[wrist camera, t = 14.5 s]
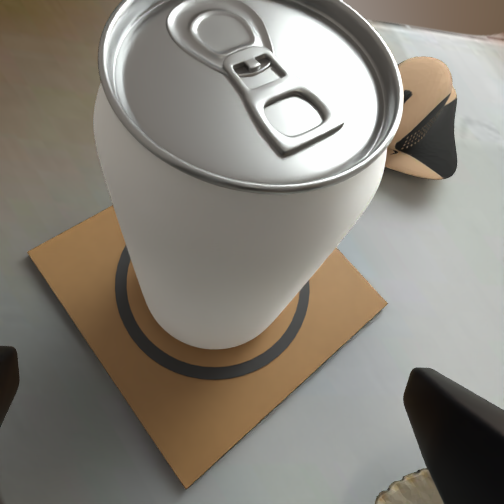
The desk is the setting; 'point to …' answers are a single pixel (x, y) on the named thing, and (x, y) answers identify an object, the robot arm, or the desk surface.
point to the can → (239, 150)
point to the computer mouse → (425, 121)
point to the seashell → (411, 490)
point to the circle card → (193, 358)
